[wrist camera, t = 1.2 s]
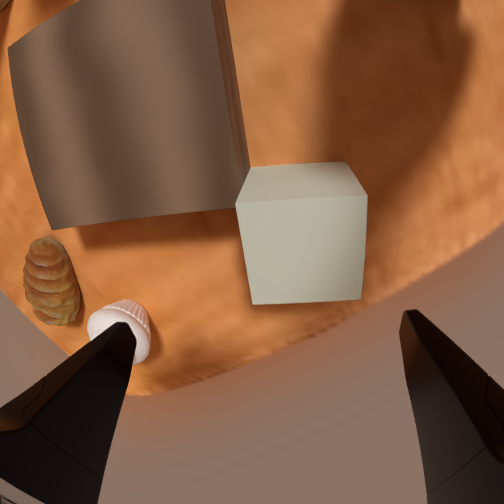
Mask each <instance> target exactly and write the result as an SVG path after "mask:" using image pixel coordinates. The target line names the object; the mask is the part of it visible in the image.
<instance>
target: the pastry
mask: <svg viewBox="0 0 504 504" xmlns="http://www.w3.org/2000/svg"><path fill="white" fill-rule="evenodd" d="M25 260H26V264H25V266H24V269H23V272H24V284H23V285H24V288H25V295H26V299H27V301H28V302H29V303H30V304H32V306H33V313H34V314H35V316H36V317H37V318H38V319H39V320H40V321H42V322H43V323H45V324H48V325H57V326H61V325H65V324H67V323H70V322H73V321H74V320H75V319H76V317H77V314H78V311H79V308H80V303H81V302H80V290H79V285H78V284H77V279H76V276H75V273H74V270H73V266H72V263H71V261H70V258H69V256H68V255H67V254H66V252H65V250H64V248H63V246H62V245H61V244H59V243H58V242H57V241H54V240H52V239H50V238H47V237H45V238H41V239H37V240H35V241H34V242H32V243H31V244H30V247H29V252H28V254H27V255H26V257H25Z"/></svg>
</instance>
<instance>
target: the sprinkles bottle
mask: <svg viewBox="0 0 504 504" xmlns="http://www.w3.org/2000/svg"><path fill="white" fill-rule="evenodd" d="M9 1H10V0H0V10H1V9H3V8H4V7H5V6H6V4H7V3H8V2H9Z"/></svg>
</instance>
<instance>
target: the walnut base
mask: <svg viewBox="0 0 504 504" xmlns="http://www.w3.org/2000/svg"><path fill="white" fill-rule="evenodd" d="M8 56H9V66H10V74H11V82H12V88H13V94H14V100H15V106H16V111H17V116H18V121H19V125H20V130H21V134H22V138H23V142H24V146H25V150H26V154H27V158H28V161H29V165H30V168H31V172H32V175H33V178H34V181H35V185H36V188H37V191H38V194H39V197H40V200H41V202H42V205H43V208H44V211H45V214H46V216H47V219H48V222H49V224H50V227H51V229H52V230H57V229H63V228H70V227H77V226H83V225H90V224H97V223H105V222H112V221H120V220H127V219H135V218H143V217H152V216H160V215H169V214H178V213H188V212H198V211H208V210H218V209H229V208H236V205H235V203H236V201H237V198H238V196H239V193H240V191H241V189H242V186H243V184H244V182H245V179H246V177H247V175H248V173H249V170H250V162H249V155H248V149H247V142H246V135H245V128H244V122H243V115H242V109H241V102H240V95H239V89H238V82H237V76H236V69H235V63H234V57H233V50H232V44H231V38H230V31H229V25H228V19H227V13H226V7H225V0H80V1H78V2H76V3H75V4H73V5H71V6H69V7H67V8H66V9H64V10H62V11H61V12H59V13H57V14H56V15H54V16H52V17H51V18H49V19H48V20H46V21H45V22H43V23H42V24H40V25H39V26H37V27H36V28H34V29H33V30H31V31H30V32H28V33H27V34H26V35H24V36H23V37H21V38H20V39H19V40H17V41H16V42H15V43H14V44H12V45H11V46H10V47H8Z"/></svg>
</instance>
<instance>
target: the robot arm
mask: <svg viewBox="0 0 504 504" xmlns="http://www.w3.org/2000/svg"><path fill="white" fill-rule="evenodd" d="M399 336H400V342H401V349H402V355H403V363H404V369H405V377H406V382H407V387H408V391H409V395H410V400H411V404H412V409H413V413H414V418H415V423H416V428H417V433H418V438H419V444H420V450H421V456H422V462H423V469H424V476H425V484H426V492H427V503H428V504H504V389H503V388H502V387H501V386H500V385H499V384H497V383H496V382H495V381H494V380H493V379H492V378H491V377H490V376H488V374H487V373H486V372H485V371H484V370H483V369H482V368H481V367H480V366H479V365H478V364H477V363H475V361H474V360H472V359H471V358H470V357H469V356H468V355H467V354H466V353H465V352H464V351H463V350H462V349H461V348H460V347H459V346H458V345H456V344H455V343H454V342H453V341H452V340H451V339H450V338H449V337H448V336H447V335H445V334H444V333H443V332H442V331H441V330H440V329H439V328H438V327H437V326H435V325H434V324H433V323H432V322H431V321H430V320H429V319H428V318H426V317H425V316H424V315H423V314H422V313H420V312H419V311H418V310H417V309H412V310H406V311H404V313H403V316H402V321H401V326H400V331H399ZM136 346H137V340H136V337H135V335H134V333H133V331H132V330H131V328H130V326H129V324H128V323H127V322H115V323H114V324H113V325H111V326H110V327H109V328H107V329H106V330H105V331H103V332H102V333H101V334H99V335H98V336H97V337H95V338H94V339H93V340H91V341H90V342H89V343H87V344H86V345H85V346H83V347H82V348H81V349H79V350H78V351H77V352H76V353H74V354H73V355H72V356H70V357H69V358H68V359H67V360H65V361H64V362H62V363H61V364H60V365H59V366H57V367H56V368H55V369H54V370H52V371H51V372H50V373H48V374H47V375H46V376H44V377H43V378H42V379H41V380H39V381H38V382H37V383H35V384H34V385H33V386H31V387H30V388H29V389H27V390H26V391H24V392H23V393H21V394H20V395H19V396H17V397H16V398H14V399H13V400H11V401H10V402H8V403H7V404H5V405H4V406H2V407H1V408H0V504H97V503H98V499H99V494H100V489H101V485H102V480H103V476H104V471H105V467H106V463H107V459H108V455H109V450H110V447H111V442H112V439H113V435H114V432H115V428H116V424H117V421H118V417H119V414H120V410H121V406H122V403H123V400H124V396H125V393H126V390H127V387H128V383H129V379H130V375H131V370H132V365H133V360H134V355H135V350H136Z"/></svg>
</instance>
